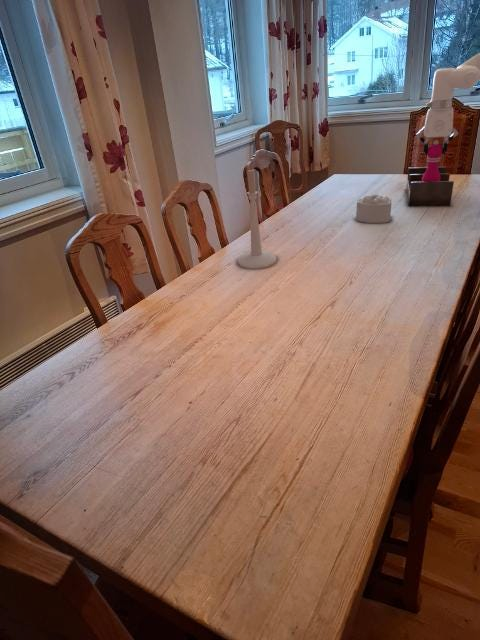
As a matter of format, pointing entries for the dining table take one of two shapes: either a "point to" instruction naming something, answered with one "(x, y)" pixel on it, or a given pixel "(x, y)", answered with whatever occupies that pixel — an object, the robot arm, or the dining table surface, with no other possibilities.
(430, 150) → the pepper mill
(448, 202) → the shelf
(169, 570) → the dining table surface
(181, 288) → the dining table surface
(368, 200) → the lumpy-topped squat cylinder
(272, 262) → the candlestick
